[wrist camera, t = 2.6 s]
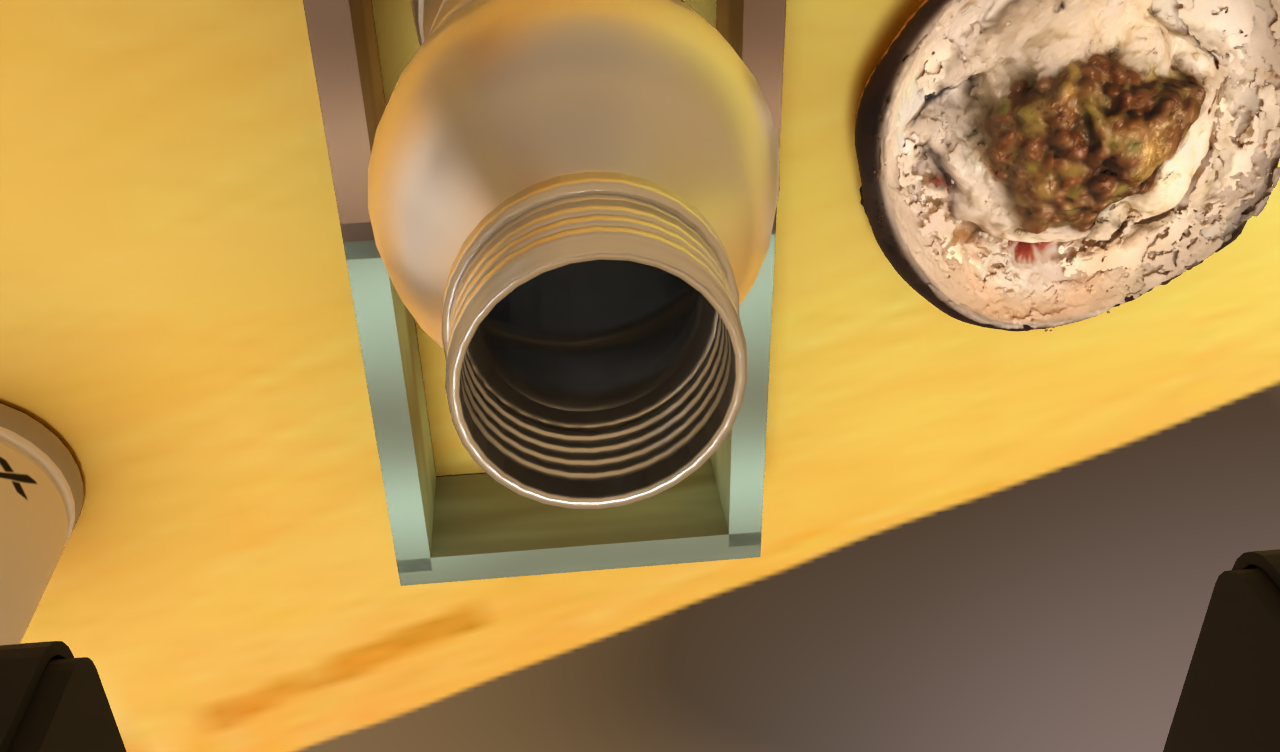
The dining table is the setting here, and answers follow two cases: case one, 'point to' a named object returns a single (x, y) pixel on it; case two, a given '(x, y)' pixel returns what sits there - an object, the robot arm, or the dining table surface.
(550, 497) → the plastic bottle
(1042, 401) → the dining table surface
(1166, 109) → the sushi roll
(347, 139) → the dock
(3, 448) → the travel mug
